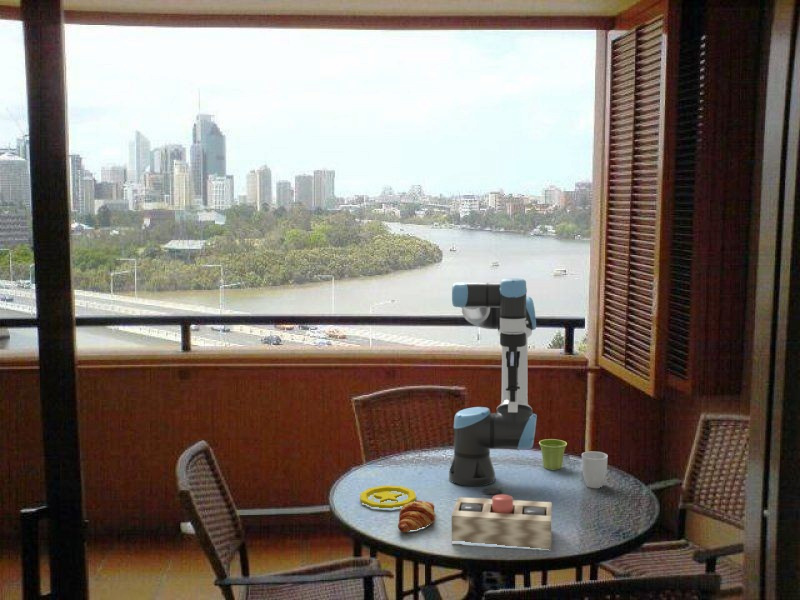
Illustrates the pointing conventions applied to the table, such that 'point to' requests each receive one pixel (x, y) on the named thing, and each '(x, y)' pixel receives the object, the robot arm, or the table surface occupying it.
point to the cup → (594, 468)
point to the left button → (471, 507)
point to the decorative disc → (387, 496)
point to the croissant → (416, 516)
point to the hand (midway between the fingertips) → (512, 411)
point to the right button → (534, 511)
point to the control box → (502, 524)
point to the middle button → (502, 504)
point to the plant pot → (552, 453)
